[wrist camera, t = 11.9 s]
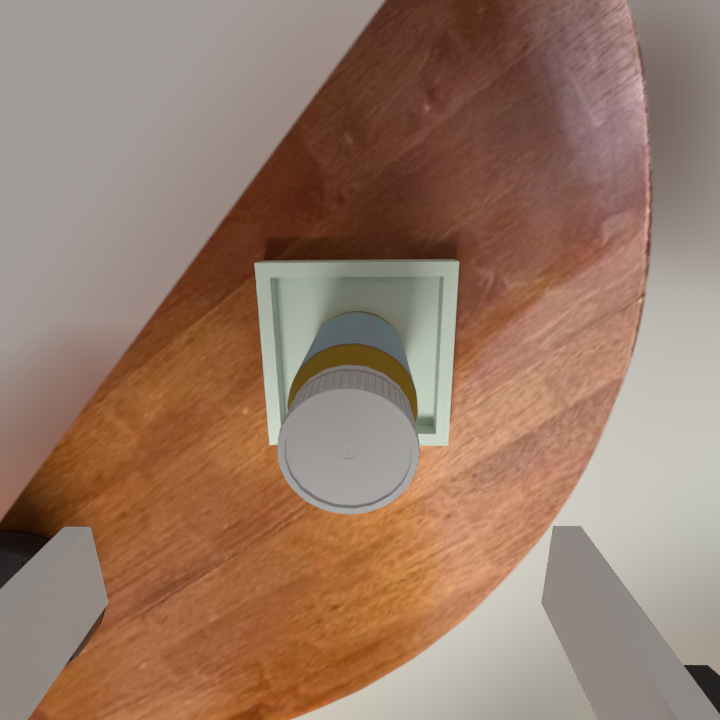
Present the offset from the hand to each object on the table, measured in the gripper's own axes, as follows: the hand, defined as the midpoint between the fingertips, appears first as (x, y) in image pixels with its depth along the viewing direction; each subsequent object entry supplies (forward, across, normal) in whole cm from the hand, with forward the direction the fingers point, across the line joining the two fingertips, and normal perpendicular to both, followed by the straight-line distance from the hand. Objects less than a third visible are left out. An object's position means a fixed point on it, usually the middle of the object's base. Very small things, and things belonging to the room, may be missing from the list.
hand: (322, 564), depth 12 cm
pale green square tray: (+22, +1, 0) cm, 22 cm away
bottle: (+21, +1, 0) cm, 21 cm away
